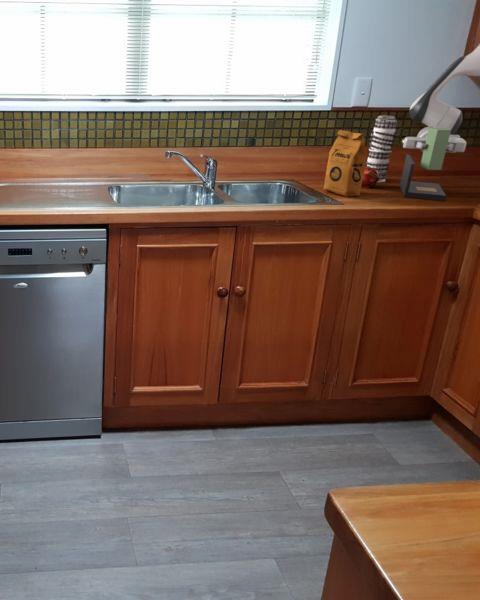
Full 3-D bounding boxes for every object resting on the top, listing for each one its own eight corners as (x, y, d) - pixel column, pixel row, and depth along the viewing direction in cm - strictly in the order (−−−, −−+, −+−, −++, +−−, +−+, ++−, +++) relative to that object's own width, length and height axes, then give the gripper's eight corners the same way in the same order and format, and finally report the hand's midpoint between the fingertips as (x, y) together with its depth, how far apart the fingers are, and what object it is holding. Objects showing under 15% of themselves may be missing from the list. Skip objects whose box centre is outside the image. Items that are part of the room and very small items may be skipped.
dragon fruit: (350, 186, 242) (374, 197, 232) (341, 175, 236) (365, 186, 227) (365, 168, 240) (389, 179, 231) (356, 157, 235) (380, 167, 226)
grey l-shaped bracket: (437, 188, 233) (445, 157, 228) (444, 201, 214) (453, 166, 209) (399, 185, 237) (406, 154, 233) (403, 197, 219) (411, 163, 214)
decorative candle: (391, 182, 243) (405, 117, 233) (370, 182, 242) (383, 117, 232) (377, 177, 251) (390, 114, 242) (357, 177, 250) (369, 114, 240)
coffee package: (342, 198, 215) (354, 134, 207) (318, 190, 226) (329, 129, 218) (364, 196, 219) (377, 133, 210) (339, 189, 229) (351, 129, 221)
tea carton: (432, 167, 224) (442, 127, 218) (441, 169, 219) (451, 129, 214) (419, 167, 224) (428, 127, 218) (428, 169, 219) (437, 129, 213)
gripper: (403, 131, 232) (405, 136, 220) (464, 135, 225) (470, 140, 213) (399, 148, 234) (402, 153, 222) (459, 152, 227) (465, 158, 215)
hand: (436, 147), depth 218 cm, fingers closed on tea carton, 6 cm apart
